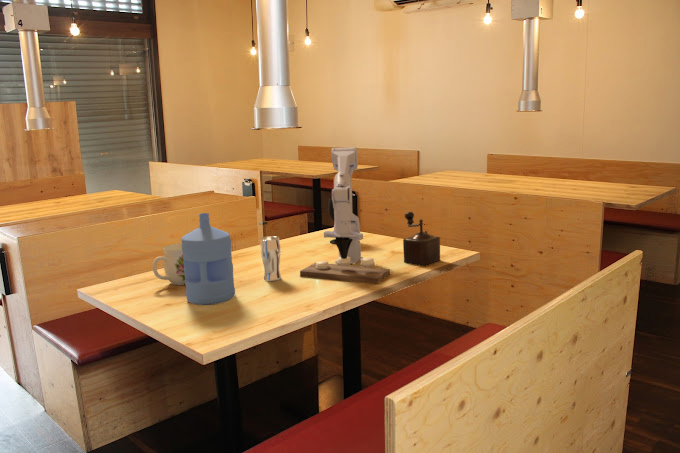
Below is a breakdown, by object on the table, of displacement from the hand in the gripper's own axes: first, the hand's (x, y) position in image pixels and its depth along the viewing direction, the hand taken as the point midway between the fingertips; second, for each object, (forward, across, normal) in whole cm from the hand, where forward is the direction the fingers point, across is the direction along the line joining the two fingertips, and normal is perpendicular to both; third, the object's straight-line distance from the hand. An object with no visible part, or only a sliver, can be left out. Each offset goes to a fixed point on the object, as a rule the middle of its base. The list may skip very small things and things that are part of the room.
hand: (344, 258), depth 220 cm
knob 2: (+2, 0, 0) cm, 2 cm away
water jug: (+7, -31, -37) cm, 49 cm away
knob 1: (+4, -9, 0) cm, 10 cm away
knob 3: (+2, +9, 0) cm, 9 cm away
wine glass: (+6, -24, +47) cm, 53 cm away
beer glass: (+7, -23, -12) cm, 27 cm away
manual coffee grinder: (+7, +18, +27) cm, 33 cm away
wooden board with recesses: (+6, 0, 0) cm, 6 cm away
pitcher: (+7, -53, -27) cm, 60 cm away
